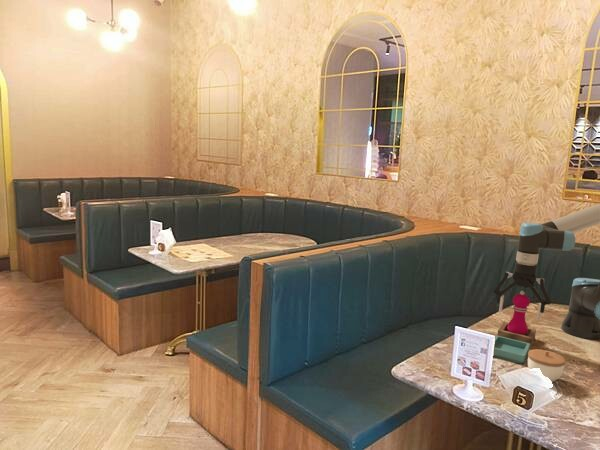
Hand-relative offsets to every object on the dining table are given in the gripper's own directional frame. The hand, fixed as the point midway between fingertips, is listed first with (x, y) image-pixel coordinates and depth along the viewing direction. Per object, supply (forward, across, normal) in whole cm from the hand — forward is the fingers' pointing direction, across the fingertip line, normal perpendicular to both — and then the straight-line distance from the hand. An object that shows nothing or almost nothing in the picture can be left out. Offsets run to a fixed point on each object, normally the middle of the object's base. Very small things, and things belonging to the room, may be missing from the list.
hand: (518, 315), depth 183 cm
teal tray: (+10, 0, -16) cm, 19 cm away
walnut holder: (+10, 0, 0) cm, 10 cm away
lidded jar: (+10, +13, -30) cm, 34 cm away
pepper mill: (+10, 0, 0) cm, 10 cm away
